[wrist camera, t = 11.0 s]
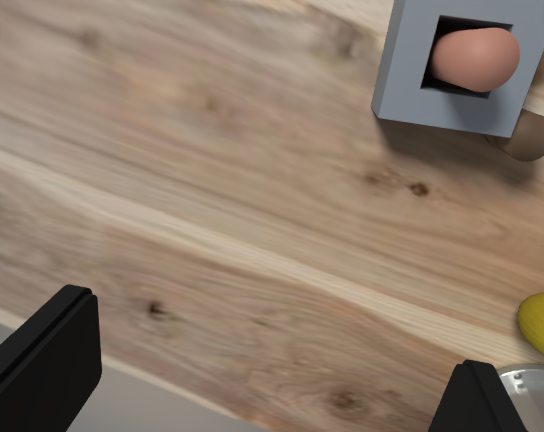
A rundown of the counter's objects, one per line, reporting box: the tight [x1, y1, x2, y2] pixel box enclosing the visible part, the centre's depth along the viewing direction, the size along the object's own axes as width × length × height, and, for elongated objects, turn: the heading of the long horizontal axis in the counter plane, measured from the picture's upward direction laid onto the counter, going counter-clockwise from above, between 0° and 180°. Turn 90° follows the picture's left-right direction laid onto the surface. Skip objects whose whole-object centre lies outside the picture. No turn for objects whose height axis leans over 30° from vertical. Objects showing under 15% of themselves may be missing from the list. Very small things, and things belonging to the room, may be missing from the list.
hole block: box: [371, 0, 544, 138], centre depth 31 cm, size 10×10×6 cm
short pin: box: [484, 109, 544, 161], centre depth 33 cm, size 4×4×5 cm
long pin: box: [424, 28, 520, 92], centre depth 29 cm, size 4×4×11 cm
